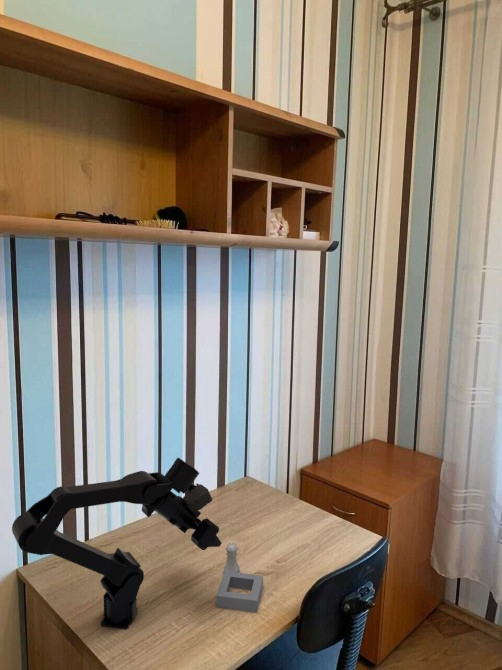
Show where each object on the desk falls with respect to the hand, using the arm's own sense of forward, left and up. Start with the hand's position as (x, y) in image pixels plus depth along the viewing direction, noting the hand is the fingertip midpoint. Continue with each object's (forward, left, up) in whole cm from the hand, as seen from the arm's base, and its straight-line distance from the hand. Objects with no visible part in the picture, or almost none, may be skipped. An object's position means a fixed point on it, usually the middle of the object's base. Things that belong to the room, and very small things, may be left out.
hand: (210, 536), depth 132 cm
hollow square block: (+9, -4, -13) cm, 16 cm away
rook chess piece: (+5, +5, -13) cm, 14 cm away
